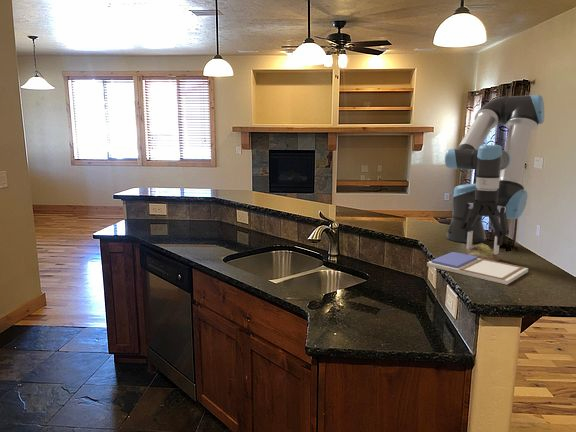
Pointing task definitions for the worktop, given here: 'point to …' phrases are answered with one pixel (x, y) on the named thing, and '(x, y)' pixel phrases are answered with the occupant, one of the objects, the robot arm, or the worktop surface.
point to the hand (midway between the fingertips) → (482, 251)
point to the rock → (482, 252)
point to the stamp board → (478, 267)
